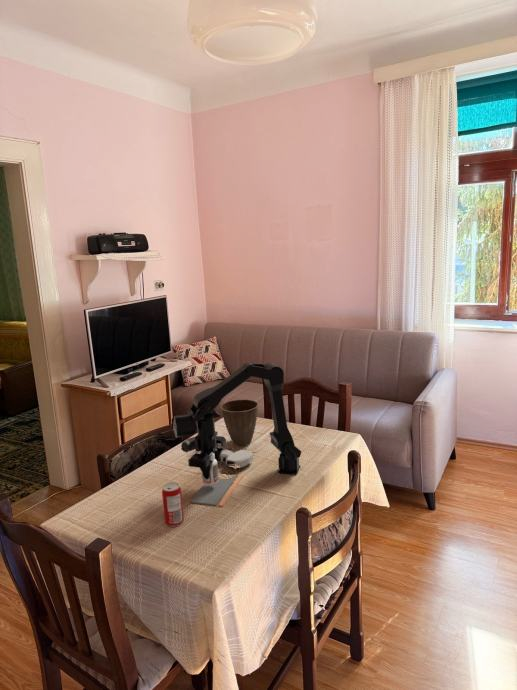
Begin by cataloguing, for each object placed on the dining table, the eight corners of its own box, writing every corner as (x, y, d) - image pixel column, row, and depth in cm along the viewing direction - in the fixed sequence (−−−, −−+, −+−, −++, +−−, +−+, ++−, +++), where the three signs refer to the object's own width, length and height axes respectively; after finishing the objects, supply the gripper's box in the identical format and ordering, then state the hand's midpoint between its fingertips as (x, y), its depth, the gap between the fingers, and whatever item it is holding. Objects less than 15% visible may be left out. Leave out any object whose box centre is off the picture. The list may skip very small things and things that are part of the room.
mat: (237, 476, 173) (237, 474, 173) (216, 506, 154) (216, 504, 154) (213, 473, 175) (213, 472, 175) (190, 502, 157) (190, 501, 157)
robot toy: (207, 467, 182) (238, 474, 173) (206, 456, 182) (237, 462, 172) (228, 455, 192) (259, 461, 183) (227, 444, 191) (258, 450, 182)
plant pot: (216, 445, 199) (213, 408, 195) (237, 432, 211) (234, 397, 208) (247, 452, 191) (244, 413, 188) (266, 438, 203) (264, 402, 200)
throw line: (243, 476, 172) (243, 475, 172) (222, 506, 153) (222, 505, 153) (239, 476, 172) (239, 474, 172) (219, 506, 154) (218, 504, 154)
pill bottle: (215, 476, 168) (213, 449, 166) (221, 482, 163) (219, 455, 161) (200, 480, 166) (198, 453, 164) (205, 487, 161) (203, 459, 159)
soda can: (173, 515, 150) (169, 479, 148) (187, 519, 147) (184, 483, 145) (161, 524, 146) (157, 487, 143) (175, 529, 143) (172, 491, 140)
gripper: (195, 419, 172) (199, 460, 175) (171, 440, 154) (175, 486, 158) (225, 421, 168) (228, 462, 172) (203, 443, 151) (207, 489, 154)
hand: (210, 474), depth 164 cm, fingers closed on pill bottle, 5 cm apart
